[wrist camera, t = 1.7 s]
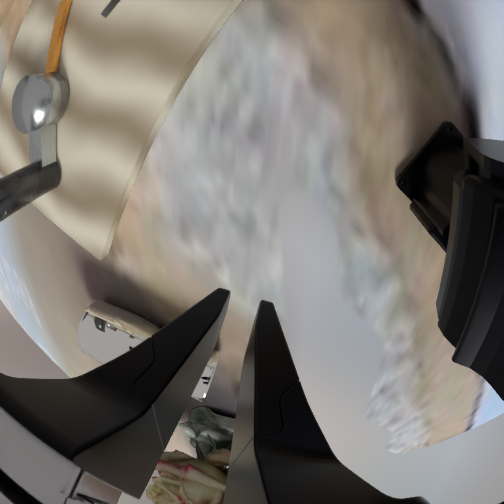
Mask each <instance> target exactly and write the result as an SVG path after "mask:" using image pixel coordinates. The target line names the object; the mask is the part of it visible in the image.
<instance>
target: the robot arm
mask: <svg viewBox="0 0 504 504" xmlns="http://www.w3.org/2000/svg"><path fill="white" fill-rule="evenodd" d="M447 126H450V131H449V132H448V131H447ZM402 180H405V184H404V185H401V181H402ZM396 185H397V187H398V188H399V189H400V190H401V191H402V192H403V193H404V194H405V195H406V196H407V197H408V198H409V199H410V200H411V201H412V203H411V204H410V209H411V211H412V212H413V213H414V214H415V216H416V217H417V218H418V220H419V221H420V222H421V223H422V225H423V226H424V227H425V229H426V230H427V231H428V233H429V234H430V235H431V236H432V237H433V238H434V239H435V241H436V242H437V243H438V244H439V245H440V246H441V248H442V249H443V250H444V251H445V252H446V258H445V264H444V269H443V274H442V279H441V284H440V289H439V293H438V297H437V301H436V307H437V315H438V318H439V321H438V327H439V328H440V330H441V332H442V334H443V335H444V337H445V338H446V339H447V340H448V341H449V342H450V343H451V344H452V345H453V346H454V347H455V348H456V349H455V352H454V354H453V356H452V361H453V362H455V363H458V364H460V365H463V366H466V367H468V368H470V369H472V370H473V371H475V372H476V373H478V374H479V375H481V376H482V377H483V378H484V379H485V380H486V381H487V382H488V383H489V384H490V385H491V386H492V388H493V389H494V390H495V391H496V393H497V394H498V395H499V396H500V398H501V399H502V400H503V401H504V141H500V140H491V139H481V138H468V137H463V136H462V134H461V133H460V132H459V131H458V129H457V128H456V127H455V126H454V124H452V123H451V122H447V121H446V122H444V123H443V124H442V125H441V126H440V127H439V129H438V130H437V131H436V132H435V134H434V135H433V136H432V137H431V139H430V140H429V141H428V142H427V143H426V145H425V146H424V147H423V148H422V149H421V151H420V152H419V153H418V154H417V155H416V156H415V158H414V159H413V160H412V161H411V162H410V163H409V165H408V166H407V167H406V168H405V169H404V170H403V172H402V173H401V174H400V175H399V176H398V177H397V179H396ZM229 298H230V291H229V290H226V289H223V288H218V289H216V290H215V291H214V292H212V293H211V294H209V295H208V296H207V297H205V298H204V299H202V300H201V301H200V302H198V303H197V304H195V305H194V306H193V307H191V308H190V309H188V310H187V311H186V312H184V313H183V314H181V315H180V316H178V317H177V318H176V319H174V320H173V321H171V322H170V323H169V324H167V325H166V326H164V327H163V328H161V329H160V330H159V331H157V332H156V333H154V334H153V335H152V336H151V337H148V338H147V339H146V340H144V341H143V342H141V343H140V344H138V345H137V346H135V347H134V348H132V349H131V350H129V351H127V352H126V353H124V354H122V355H120V356H118V357H117V358H115V359H113V360H111V361H109V362H107V363H105V364H103V365H101V366H99V367H97V368H95V369H93V370H91V371H89V372H87V373H85V374H83V375H81V376H78V377H74V378H70V379H29V378H28V379H27V378H15V377H10V376H6V375H4V374H2V373H0V504H117V502H118V500H119V497H120V495H121V493H122V492H123V493H125V494H128V495H130V496H132V497H134V498H137V499H140V497H141V495H142V494H143V491H144V490H145V488H146V486H147V484H148V482H149V480H150V478H151V476H152V474H153V472H154V470H155V468H156V466H157V464H158V462H159V460H160V458H161V456H162V454H163V452H164V451H163V450H165V448H166V446H167V444H168V442H169V440H170V438H171V436H172V434H173V432H174V430H175V428H176V426H177V424H178V422H179V420H180V418H181V416H182V414H183V412H184V410H185V408H186V406H187V404H188V402H189V400H190V398H191V396H192V394H193V392H194V390H195V388H196V386H197V384H198V382H199V380H200V378H201V376H202V374H203V372H204V370H205V367H206V365H207V363H208V361H209V359H210V357H211V355H212V353H213V351H214V348H215V345H216V342H217V339H218V336H219V333H220V330H221V327H222V324H223V321H224V318H225V315H226V312H227V308H228V303H229ZM228 470H229V471H228V474H227V481H226V488H225V494H224V501H223V504H430V503H429V502H428V501H427V500H426V499H424V498H423V497H421V496H418V497H410V498H404V499H398V498H393V497H390V496H387V495H385V494H384V493H382V492H380V491H379V490H377V489H376V488H374V487H373V486H372V485H370V484H369V483H367V482H366V481H364V480H363V479H362V478H360V477H359V476H358V475H356V474H354V473H353V472H352V471H351V470H349V469H348V468H347V467H345V466H344V465H343V464H342V463H341V462H340V461H339V460H338V459H337V458H336V456H335V455H334V453H333V452H332V450H331V448H330V446H329V444H328V442H327V441H326V439H325V437H324V435H323V433H322V431H321V429H320V427H319V425H318V423H317V421H316V419H315V417H314V415H313V413H312V411H311V409H310V406H309V404H308V402H307V399H306V396H305V394H304V391H303V388H302V386H301V383H300V381H299V377H298V374H297V371H296V368H295V365H294V362H293V359H292V357H291V354H290V351H289V348H288V345H287V342H286V339H285V336H284V333H283V331H282V328H281V325H280V322H279V319H278V316H277V313H276V310H275V307H274V305H273V303H272V302H269V301H265V300H261V301H260V304H259V307H258V310H257V314H256V317H255V320H254V324H253V328H252V331H251V335H250V338H249V342H248V346H247V349H246V353H245V357H244V362H243V368H242V376H241V383H240V390H239V397H238V404H237V411H236V418H235V425H234V433H233V440H232V447H231V453H230V460H229V467H228ZM499 504H504V501H503V502H501V503H499Z"/></svg>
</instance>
